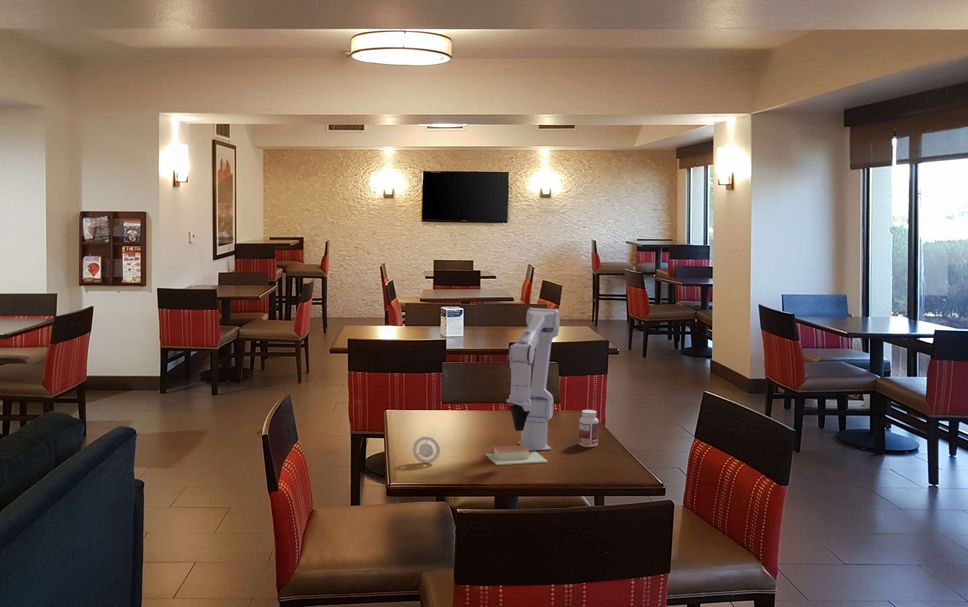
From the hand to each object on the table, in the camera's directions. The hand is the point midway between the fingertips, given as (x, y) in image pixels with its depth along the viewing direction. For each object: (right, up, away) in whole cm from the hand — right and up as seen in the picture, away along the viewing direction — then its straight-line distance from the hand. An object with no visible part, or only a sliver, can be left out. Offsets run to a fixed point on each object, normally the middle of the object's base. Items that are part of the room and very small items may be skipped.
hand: (519, 430), depth 264 cm
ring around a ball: (-27, -10, -3) cm, 29 cm away
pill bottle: (+23, -8, +24) cm, 35 cm away
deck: (-1, -8, +4) cm, 9 cm away
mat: (-1, -9, +6) cm, 11 cm away
